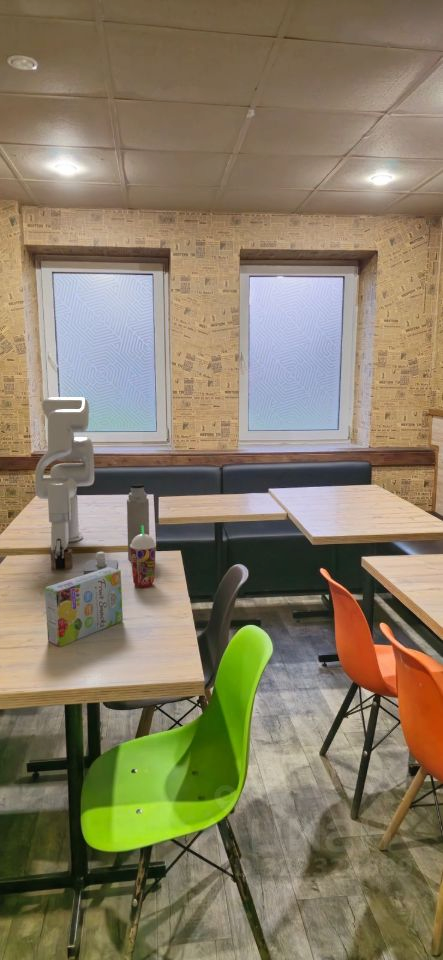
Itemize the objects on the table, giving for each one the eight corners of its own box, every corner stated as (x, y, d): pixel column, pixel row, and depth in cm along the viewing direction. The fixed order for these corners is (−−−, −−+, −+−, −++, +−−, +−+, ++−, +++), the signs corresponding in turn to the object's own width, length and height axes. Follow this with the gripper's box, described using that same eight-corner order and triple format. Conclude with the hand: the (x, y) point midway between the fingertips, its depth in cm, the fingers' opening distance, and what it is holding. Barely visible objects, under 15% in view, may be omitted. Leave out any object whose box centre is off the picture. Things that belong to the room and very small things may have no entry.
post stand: (86, 565, 217) (86, 548, 216) (117, 564, 219) (117, 548, 218) (83, 575, 207) (83, 558, 206) (116, 573, 208) (115, 557, 207)
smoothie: (152, 590, 192) (151, 529, 188) (127, 588, 194) (125, 528, 190) (159, 582, 200) (159, 523, 197) (135, 580, 202) (134, 522, 198)
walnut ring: (53, 564, 218) (52, 548, 217) (73, 563, 219) (72, 547, 218) (50, 570, 211) (49, 554, 210) (70, 569, 212) (70, 553, 211)
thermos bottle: (131, 554, 230) (129, 482, 225) (151, 555, 229) (150, 482, 225) (125, 560, 222) (123, 486, 217) (147, 561, 222) (145, 486, 217)
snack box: (110, 616, 172) (108, 565, 169) (123, 621, 168) (122, 570, 166) (46, 641, 156) (43, 586, 153) (59, 648, 152) (57, 591, 149)
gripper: (52, 511, 220) (54, 558, 223) (44, 523, 203) (47, 573, 206) (73, 510, 221) (75, 557, 224) (67, 522, 204) (69, 573, 207)
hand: (62, 565), depth 215 cm, fingers closed on walnut ring, 7 cm apart
